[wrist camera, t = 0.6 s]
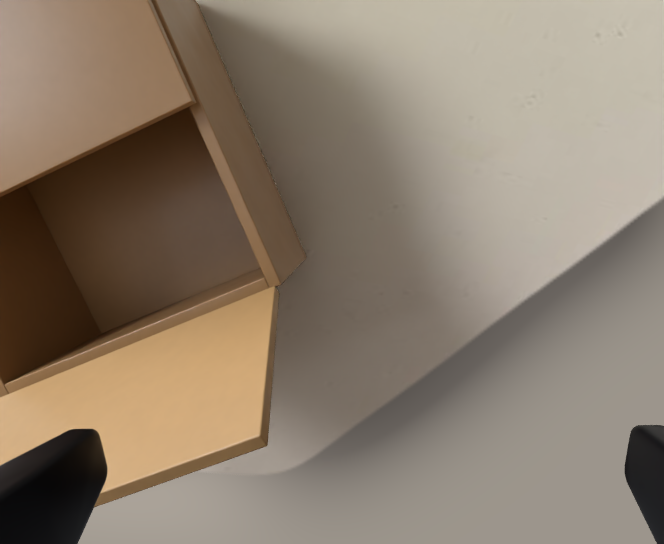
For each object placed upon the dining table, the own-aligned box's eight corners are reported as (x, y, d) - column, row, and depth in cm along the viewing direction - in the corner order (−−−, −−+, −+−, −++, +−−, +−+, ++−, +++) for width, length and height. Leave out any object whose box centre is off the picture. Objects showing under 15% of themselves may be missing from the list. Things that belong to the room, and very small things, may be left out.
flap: (274, 285, 16) (279, 293, 16) (-17, 403, 18) (-9, 410, 18) (260, 435, 10) (268, 446, 10) (-178, 592, 12) (-165, 599, 12)
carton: (306, 257, 24) (277, 288, 16) (103, 341, 26) (-17, 408, 18) (197, 2, 22) (101, -108, 14) (-14, 110, 24) (-207, 67, 16)
